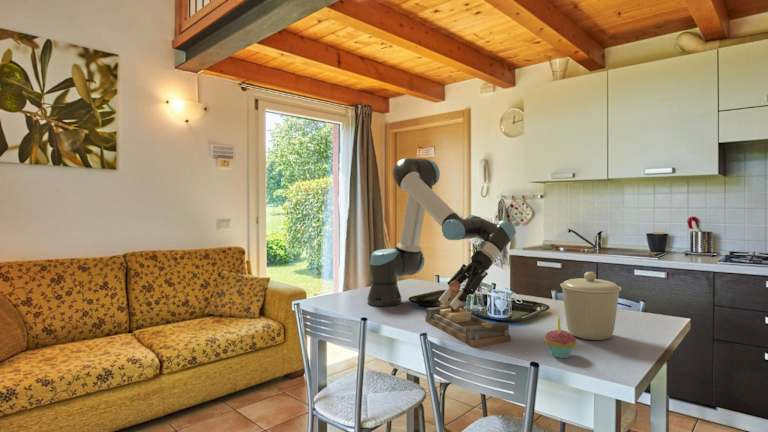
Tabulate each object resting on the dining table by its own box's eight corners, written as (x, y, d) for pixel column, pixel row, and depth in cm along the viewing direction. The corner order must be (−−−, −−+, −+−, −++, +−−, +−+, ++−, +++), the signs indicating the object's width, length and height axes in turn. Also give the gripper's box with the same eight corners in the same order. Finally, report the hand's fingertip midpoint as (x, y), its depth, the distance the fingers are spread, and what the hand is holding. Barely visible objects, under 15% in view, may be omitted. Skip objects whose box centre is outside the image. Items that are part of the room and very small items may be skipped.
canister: (551, 336, 143) (551, 272, 142) (571, 324, 156) (571, 266, 155) (611, 348, 131) (611, 278, 130) (628, 334, 144) (628, 271, 143)
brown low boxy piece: (425, 321, 164) (425, 306, 163) (457, 316, 169) (457, 302, 169) (472, 347, 134) (472, 329, 134) (510, 341, 139) (510, 323, 139)
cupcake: (573, 362, 120) (573, 319, 120) (541, 357, 125) (541, 315, 124) (578, 353, 127) (578, 312, 127) (547, 348, 132) (547, 308, 131)
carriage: (439, 317, 159) (439, 279, 159) (458, 315, 162) (458, 277, 162) (451, 323, 152) (450, 283, 151) (470, 320, 155) (470, 281, 154)
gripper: (508, 266, 152) (468, 318, 147) (475, 259, 171) (439, 305, 166) (495, 252, 150) (455, 304, 145) (463, 247, 169) (427, 292, 164)
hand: (446, 304), depth 155 cm, fingers open, 7 cm apart
